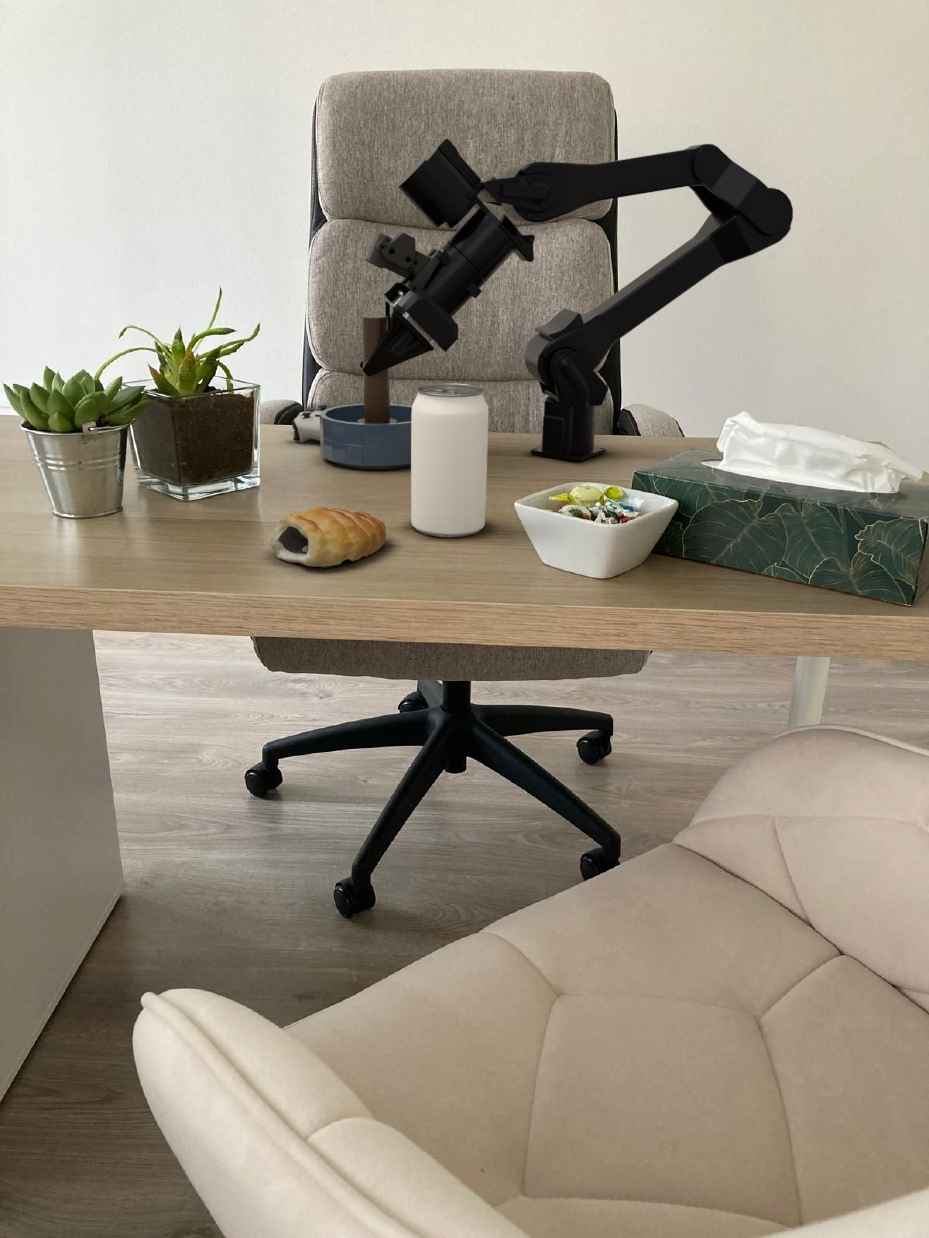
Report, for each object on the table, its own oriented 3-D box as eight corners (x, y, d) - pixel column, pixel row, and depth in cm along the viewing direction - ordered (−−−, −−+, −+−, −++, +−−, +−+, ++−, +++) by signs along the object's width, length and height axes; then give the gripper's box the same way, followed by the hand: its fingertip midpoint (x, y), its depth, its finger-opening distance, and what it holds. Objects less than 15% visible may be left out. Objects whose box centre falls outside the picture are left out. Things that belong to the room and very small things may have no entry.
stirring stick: (394, 427, 115) (392, 314, 110) (400, 435, 111) (399, 318, 106) (354, 428, 114) (351, 314, 109) (360, 436, 110) (356, 318, 105)
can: (476, 541, 86) (480, 398, 81) (402, 535, 87) (402, 393, 83) (491, 520, 92) (496, 384, 87) (421, 514, 93) (422, 380, 89)
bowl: (371, 442, 121) (371, 399, 120) (454, 457, 115) (454, 412, 113) (298, 460, 112) (296, 414, 110) (383, 477, 106) (382, 429, 104)
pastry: (351, 531, 88) (350, 488, 86) (407, 549, 84) (407, 504, 82) (263, 556, 81) (261, 510, 80) (320, 577, 77) (318, 528, 76)
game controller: (349, 439, 118) (311, 401, 117) (317, 470, 120) (279, 433, 118) (358, 422, 127) (323, 387, 126) (329, 452, 129) (293, 418, 127)
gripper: (400, 203, 113) (303, 308, 115) (425, 203, 96) (311, 326, 98) (469, 278, 117) (375, 378, 119) (505, 291, 100) (394, 407, 102)
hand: (363, 371), depth 110 cm, fingers closed on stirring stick, 3 cm apart
